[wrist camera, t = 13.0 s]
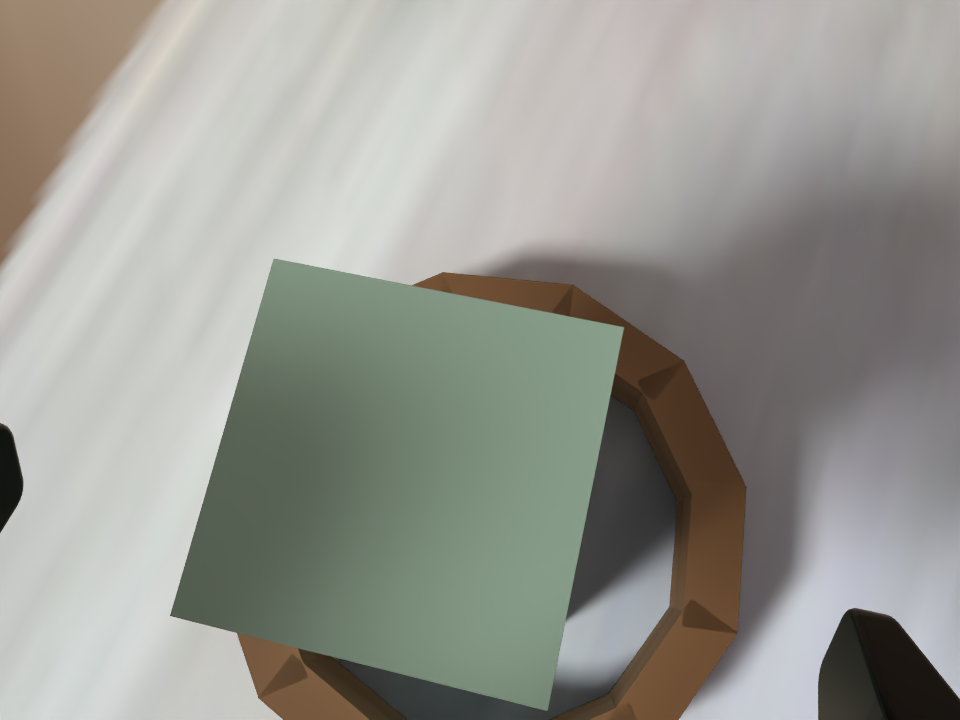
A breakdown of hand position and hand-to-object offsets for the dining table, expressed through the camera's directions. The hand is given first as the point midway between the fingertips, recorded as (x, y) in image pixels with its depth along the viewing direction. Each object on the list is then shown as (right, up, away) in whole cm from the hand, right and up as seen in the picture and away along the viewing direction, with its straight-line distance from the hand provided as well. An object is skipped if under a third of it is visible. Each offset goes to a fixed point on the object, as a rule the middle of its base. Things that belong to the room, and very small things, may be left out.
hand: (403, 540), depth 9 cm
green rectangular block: (+1, -2, +10) cm, 10 cm away
